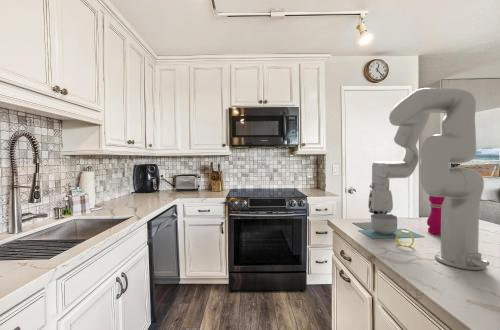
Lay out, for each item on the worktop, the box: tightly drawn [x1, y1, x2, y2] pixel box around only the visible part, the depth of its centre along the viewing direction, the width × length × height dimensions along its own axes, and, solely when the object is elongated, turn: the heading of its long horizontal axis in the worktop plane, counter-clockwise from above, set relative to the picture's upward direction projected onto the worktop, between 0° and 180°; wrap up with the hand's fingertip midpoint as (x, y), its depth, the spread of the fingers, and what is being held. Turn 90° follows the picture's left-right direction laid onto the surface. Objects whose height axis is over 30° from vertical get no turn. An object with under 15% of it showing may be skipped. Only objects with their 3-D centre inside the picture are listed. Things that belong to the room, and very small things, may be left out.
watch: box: [395, 230, 415, 248], centre depth 97 cm, size 6×3×6 cm, turn 52°
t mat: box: [352, 221, 425, 240], centre depth 119 cm, size 25×24×1 cm
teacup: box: [370, 213, 398, 235], centre depth 114 cm, size 14×11×8 cm
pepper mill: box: [426, 195, 445, 236], centre depth 113 cm, size 7×7×20 cm
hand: (379, 224), depth 120 cm, fingers closed
